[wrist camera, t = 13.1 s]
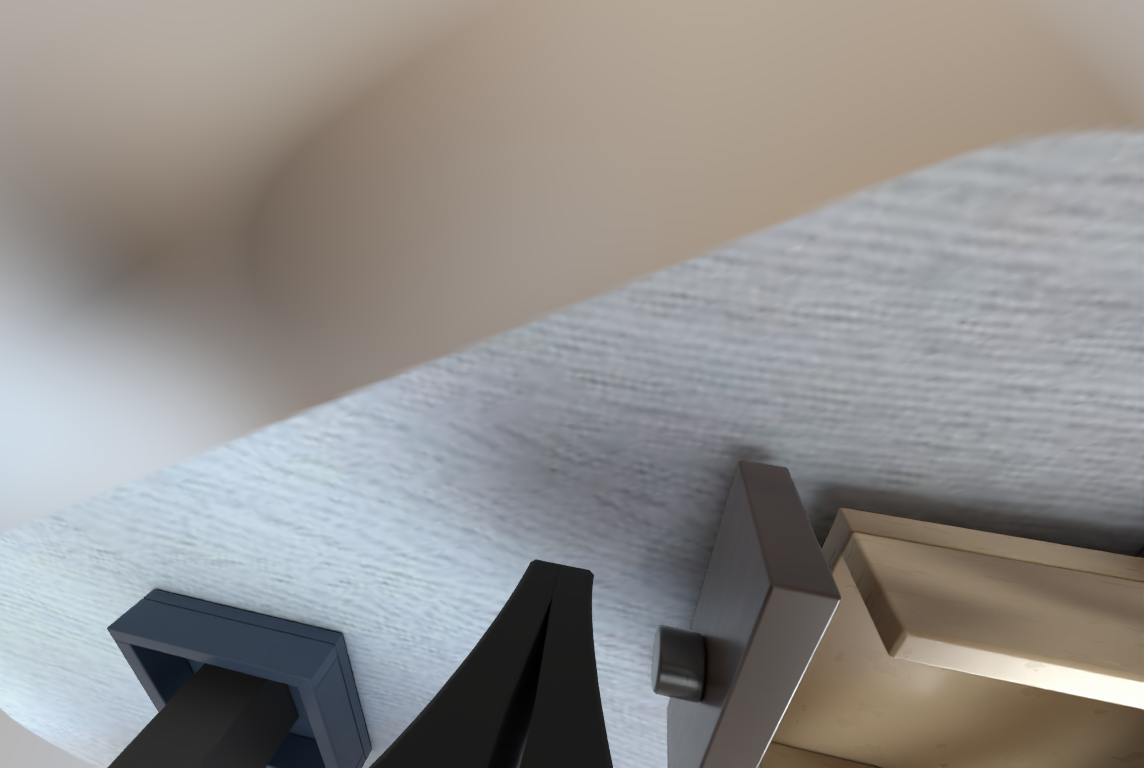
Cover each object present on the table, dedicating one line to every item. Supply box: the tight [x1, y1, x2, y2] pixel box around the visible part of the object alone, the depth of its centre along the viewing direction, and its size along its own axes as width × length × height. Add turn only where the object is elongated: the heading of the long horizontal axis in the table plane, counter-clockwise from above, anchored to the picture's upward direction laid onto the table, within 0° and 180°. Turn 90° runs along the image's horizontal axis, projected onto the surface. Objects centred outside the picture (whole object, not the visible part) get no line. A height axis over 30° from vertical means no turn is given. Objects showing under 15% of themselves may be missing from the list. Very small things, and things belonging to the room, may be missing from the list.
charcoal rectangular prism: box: [108, 663, 299, 768], centre depth 19 cm, size 4×3×6 cm
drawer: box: [651, 460, 1144, 768], centre depth 11 cm, size 15×11×4 cm
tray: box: [107, 589, 371, 768], centre depth 21 cm, size 10×10×2 cm
